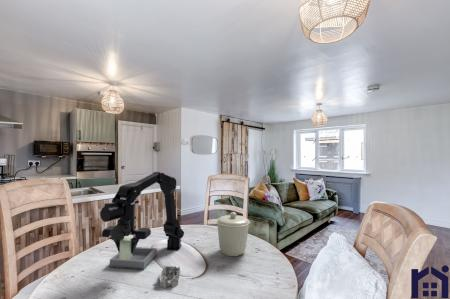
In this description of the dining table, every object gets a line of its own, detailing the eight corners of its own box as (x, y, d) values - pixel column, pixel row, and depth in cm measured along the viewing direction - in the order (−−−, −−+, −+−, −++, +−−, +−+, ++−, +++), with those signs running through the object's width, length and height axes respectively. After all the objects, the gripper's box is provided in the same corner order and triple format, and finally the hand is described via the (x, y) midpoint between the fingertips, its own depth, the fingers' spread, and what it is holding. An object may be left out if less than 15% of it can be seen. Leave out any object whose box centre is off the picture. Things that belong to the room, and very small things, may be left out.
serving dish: (156, 255, 110) (156, 248, 110) (143, 269, 96) (144, 261, 96) (126, 253, 112) (126, 246, 112) (109, 267, 98) (109, 259, 98)
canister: (231, 264, 103) (232, 219, 104) (208, 250, 117) (209, 211, 117) (256, 253, 115) (257, 213, 115) (233, 242, 129) (233, 206, 129)
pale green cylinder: (134, 254, 93) (135, 238, 93) (128, 260, 88) (129, 242, 88) (123, 253, 94) (124, 237, 94) (116, 259, 89) (117, 242, 89)
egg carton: (177, 288, 84) (177, 277, 84) (157, 288, 84) (158, 277, 84) (181, 273, 95) (181, 263, 95) (163, 273, 94) (164, 263, 94)
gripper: (93, 220, 84) (91, 261, 84) (139, 222, 82) (138, 264, 82) (110, 212, 95) (109, 248, 95) (151, 214, 94) (150, 251, 93)
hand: (126, 253), depth 91 cm, fingers closed on pale green cylinder, 5 cm apart
